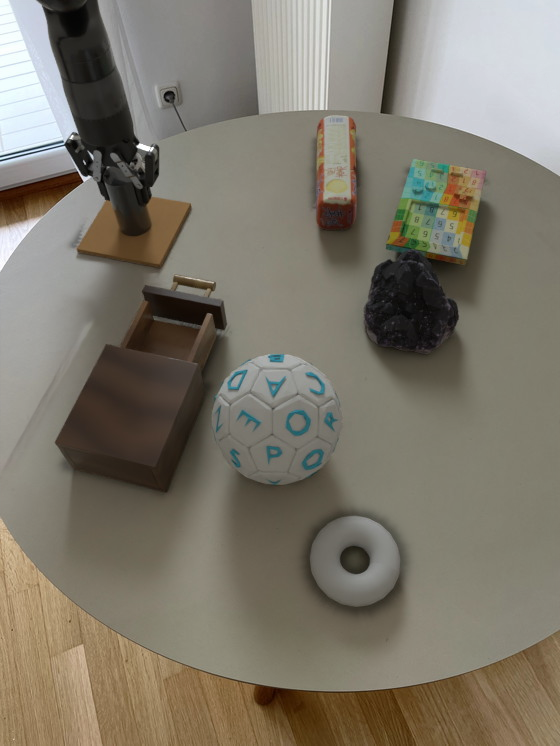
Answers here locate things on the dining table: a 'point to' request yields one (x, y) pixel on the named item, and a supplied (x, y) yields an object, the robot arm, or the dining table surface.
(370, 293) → the crystal cluster
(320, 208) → the snack package
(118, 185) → the dark grey cylinder
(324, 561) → the donut
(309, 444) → the puzzle ball
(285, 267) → the dining table surface
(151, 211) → the cork mat
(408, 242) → the puzzle game
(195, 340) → the drawer
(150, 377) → the cabinet
